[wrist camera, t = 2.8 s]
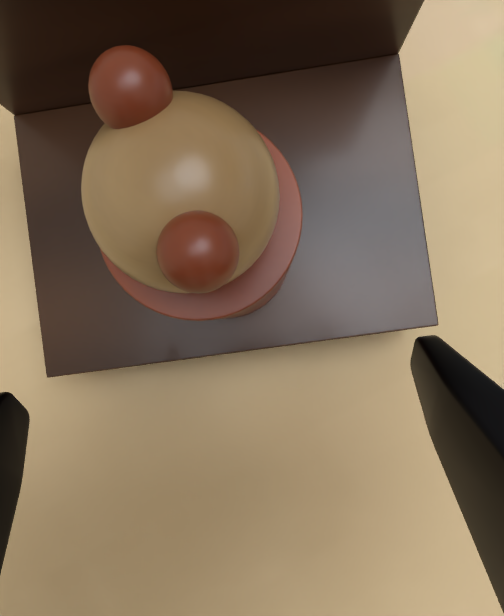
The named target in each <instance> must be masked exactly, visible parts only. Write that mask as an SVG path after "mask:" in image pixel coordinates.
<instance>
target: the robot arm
mask: <svg viewBox="0 0 504 616" xmlns="http://www.w3.org/2000/svg"><path fill="white" fill-rule="evenodd" d="M411 371H412V375H413V378H414V382H415V385H416V389H417V392H418V396H419V399H420V403H421V406H422V410H423V413H424V417H425V420H426V424H427V427H428V430H429V434H430V436H431V439H432V442H433V444H434V447H435V449H436V452H437V454H438V456H439V459H440V461H441V464H442V466H443V468H444V471H445V473H446V476H447V478H448V480H449V483H450V485H451V488H452V490H453V492H454V495H455V497H456V500H457V502H458V504H459V507H460V509H461V512H462V514H463V517H464V519H465V521H466V524H467V526H468V529H469V531H470V533H471V536H472V538H473V541H474V543H475V545H476V548H477V550H478V553H479V555H480V557H481V560H482V562H483V565H484V567H485V569H486V572H487V574H488V577H489V579H490V581H491V584H492V586H493V589H494V591H495V593H496V596H497V598H498V601H499V603H500V605H501V608H502V610H503V613H504V389H502V388H501V387H500V386H499V385H497V384H496V383H495V382H494V381H492V380H491V379H490V378H489V377H488V376H486V375H485V374H484V373H483V372H481V371H480V370H479V369H478V368H476V367H475V366H474V365H473V364H472V363H470V362H469V361H468V360H467V359H465V358H464V357H463V356H462V355H460V354H459V353H458V352H457V351H455V350H454V349H453V348H452V347H451V346H449V345H448V344H447V343H446V342H444V341H443V340H442V339H441V338H439V337H438V336H435V335H431V336H423V337H418V338H417V339H416V340H415V343H414V347H413V352H412V357H411ZM29 420H30V419H29V413H28V411H27V410H26V409H25V407H24V406H23V405H22V404H21V403H20V402H19V401H18V400H17V399H16V398H15V397H14V396H13V395H12V394H11V393H9V392H2V393H0V574H1V569H2V565H3V561H4V557H5V552H6V548H7V544H8V540H9V536H10V531H11V527H12V523H13V519H14V514H15V510H16V506H17V502H18V498H19V493H20V488H21V483H22V477H23V469H24V461H25V454H26V446H27V438H28V430H29Z"/></svg>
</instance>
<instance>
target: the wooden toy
mask: <svg viewBox="0 0 504 616" xmlns="http://www.w3.org/2000/svg"><path fill="white" fill-rule="evenodd" d="M88 89H89V95H90V100H91V103H92V105H93V107H94V109H95V111H96V113H97V114H98V116H99V117H100V119H101V120H102V121H103V122H104V123H105V124H104V125H103V126H102V127H101V128H100V130H99V131H98V133H97V134H96V136H95V137H94V139H93V141H92V143H91V145H90V147H89V149H88V152H87V155H86V158H85V162H84V167H83V172H82V183H81V195H82V204H83V209H84V214H85V217H86V220H87V223H88V226H89V229H90V231H91V233H92V235H93V237H94V239H95V241H96V242H97V244H98V245H99V247H100V250H101V253H102V256H103V259H104V261H105V263H106V265H107V267H108V269H109V271H110V272H111V274H112V275H113V277H114V278H115V280H116V281H117V282H118V283H119V284H120V286H121V287H122V288H123V289H124V290H125V291H126V292H127V293H128V294H129V295H130V296H132V297H133V298H134V299H135V300H136V301H138V302H139V303H141V304H142V305H144V306H145V307H147V308H149V309H151V310H153V311H155V312H157V313H160V314H162V315H165V316H168V317H171V318H177V319H182V320H192V321H204V320H216V319H226V318H235V317H240V316H244V315H247V314H250V313H252V312H254V311H256V310H258V309H260V308H261V307H263V306H264V305H265V304H267V303H268V302H269V301H270V300H271V299H272V298H273V297H274V296H275V294H276V293H277V292H278V290H279V289H280V287H281V286H282V284H283V282H284V280H285V278H286V275H287V273H288V271H289V268H290V266H291V263H292V261H293V258H294V256H295V253H296V250H297V247H298V244H299V241H300V236H301V230H302V217H303V213H302V200H301V196H300V191H299V187H298V184H297V181H296V178H295V175H294V173H293V171H292V169H291V167H290V165H289V163H288V162H287V160H286V159H285V157H284V156H283V154H282V153H281V152H280V150H279V149H278V148H277V147H276V146H275V145H274V144H273V143H272V142H271V141H270V140H269V139H268V138H267V137H266V136H264V135H263V134H262V133H261V132H259V131H258V130H256V129H255V128H254V127H253V126H252V125H251V123H250V122H249V121H248V120H247V119H246V118H244V117H243V116H242V115H241V114H240V113H238V112H237V111H236V110H234V109H233V108H231V107H230V106H228V105H227V104H225V103H223V102H221V101H219V100H217V99H215V98H213V97H210V96H206V95H203V94H200V93H194V92H188V91H173V89H172V84H171V81H170V78H169V76H168V74H167V72H166V70H165V68H164V67H163V65H162V64H161V63H160V62H159V61H158V59H157V58H156V57H154V56H153V55H152V54H151V53H149V52H147V51H146V50H144V49H142V48H139V47H136V46H131V45H120V46H115V47H112V48H110V49H108V50H106V51H105V52H103V53H102V54H101V55H100V56H99V57H98V58H97V59H96V61H95V62H94V64H93V66H92V68H91V71H90V75H89V82H88Z"/></svg>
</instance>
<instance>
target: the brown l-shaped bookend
mask: <svg viewBox="0 0 504 616" xmlns="http://www.w3.org/2000/svg"><path fill="white" fill-rule="evenodd" d="M423 2H424V0H0V104H1V105H2V106H3V107H5V108H6V109H7V110H9V111H10V112H11V113H12V114H14V115H15V116H14V120H15V128H16V136H17V144H18V152H19V160H20V168H21V176H22V184H23V192H24V200H25V207H26V215H27V223H28V231H29V239H30V247H31V255H32V263H33V271H34V279H35V287H36V294H37V302H38V310H39V318H40V326H41V334H42V342H43V350H44V358H45V366H46V374H47V377H56V376H63V375H71V374H78V373H86V372H93V371H101V370H108V369H116V368H123V367H131V366H138V365H146V364H153V363H161V362H168V361H176V360H183V359H191V358H198V357H206V356H213V355H221V354H228V353H235V352H243V351H250V350H258V349H265V348H273V347H280V346H288V345H295V344H303V343H310V342H318V341H325V340H333V339H340V338H348V337H355V336H363V335H370V334H378V333H385V332H392V331H400V330H407V329H415V328H422V327H430V326H437V325H438V318H437V311H436V305H435V298H434V291H433V284H432V277H431V270H430V264H429V257H428V250H427V243H426V236H425V229H424V222H423V216H422V209H421V202H420V195H419V188H418V181H417V175H416V168H415V161H414V154H413V147H412V140H411V134H410V127H409V120H408V113H407V106H406V99H405V93H404V86H403V79H402V72H401V65H400V58H399V54H398V53H399V51H400V49H401V47H402V45H403V43H404V41H405V38H406V36H407V34H408V32H409V30H410V28H411V26H412V24H413V22H414V20H415V18H416V16H417V14H418V12H419V10H420V8H421V6H422V4H423ZM120 45H131V46H136V47H139V48H142V49H144V50H146V51H147V52H149V53H151V54H152V55H153V56H154V57H156V58H157V59H158V61H159V62H160V63H161V64H162V65H163V67H164V68H165V70H166V72H167V74H168V76H169V78H170V81H171V84H172V89H173V91H188V92H194V93H200V94H203V95H206V96H210V97H213V98H215V99H217V100H219V101H221V102H223V103H225V104H227V105H228V106H230V107H231V108H233V109H234V110H236V111H237V112H238V113H240V114H241V115H242V116H243V117H244V118H246V119H247V120H248V121H249V122H250V123H251V125H252V126H253V127H254V128H255V129H256V130H258V131H259V132H261V133H262V134H263V135H264V136H266V137H267V138H268V139H269V140H270V141H271V142H272V143H273V144H274V145H275V146H276V147H277V148H278V149H279V150H280V152H281V153H282V154H283V156H284V157H285V159H286V160H287V162H288V163H289V165H290V167H291V169H292V171H293V173H294V175H295V178H296V181H297V184H298V187H299V191H300V196H301V200H302V213H303V217H302V230H301V236H300V241H299V244H298V247H297V250H296V253H295V256H294V258H293V261H292V263H291V266H290V268H289V271H288V273H287V275H286V278H285V280H284V282H283V284H282V286H281V287H280V289H279V290H278V292H277V293H276V294H275V296H274V297H273V298H272V299H271V300H270V301H269V302H268V303H267V304H265V305H264V306H263V307H261V308H260V309H258V310H256V311H254V312H252V313H250V314H247V315H244V316H240V317H235V318H226V319H216V320H204V321H192V320H182V319H177V318H171V317H168V316H165V315H162V314H160V313H157V312H155V311H153V310H151V309H149V308H147V307H145V306H144V305H142V304H141V303H139V302H138V301H136V300H135V299H134V298H133V297H132V296H130V295H129V294H128V293H127V292H126V291H125V290H124V289H123V288H122V287H121V286H120V284H119V283H118V282H117V281H116V280H115V278H114V277H113V275H112V274H111V272H110V271H109V269H108V267H107V265H106V263H105V261H104V259H103V256H102V253H101V250H100V247H99V245H98V244H97V242H96V241H95V239H94V237H93V235H92V233H91V231H90V229H89V226H88V223H87V220H86V217H85V214H84V209H83V204H82V195H81V183H82V172H83V167H84V162H85V158H86V155H87V152H88V149H89V147H90V145H91V143H92V141H93V139H94V137H95V136H96V134H97V133H98V131H99V130H100V128H101V127H102V126H103V125H104V124H105V123H104V122H103V121H102V120H101V119H100V117H99V116H98V114H97V113H96V111H95V109H94V107H93V105H92V103H91V100H90V95H89V89H88V82H89V75H90V71H91V68H92V66H93V64H94V62H95V61H96V59H97V58H98V57H99V56H100V55H101V54H102V53H103V52H105V51H106V50H108V49H110V48H112V47H115V46H120Z"/></svg>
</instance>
